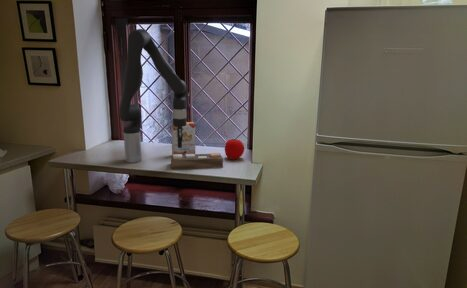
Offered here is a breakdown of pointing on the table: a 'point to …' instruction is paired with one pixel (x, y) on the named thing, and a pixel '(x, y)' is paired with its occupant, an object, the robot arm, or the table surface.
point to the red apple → (234, 149)
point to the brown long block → (196, 162)
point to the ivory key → (177, 156)
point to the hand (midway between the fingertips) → (179, 147)
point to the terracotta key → (214, 155)
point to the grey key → (190, 156)
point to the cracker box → (184, 139)
